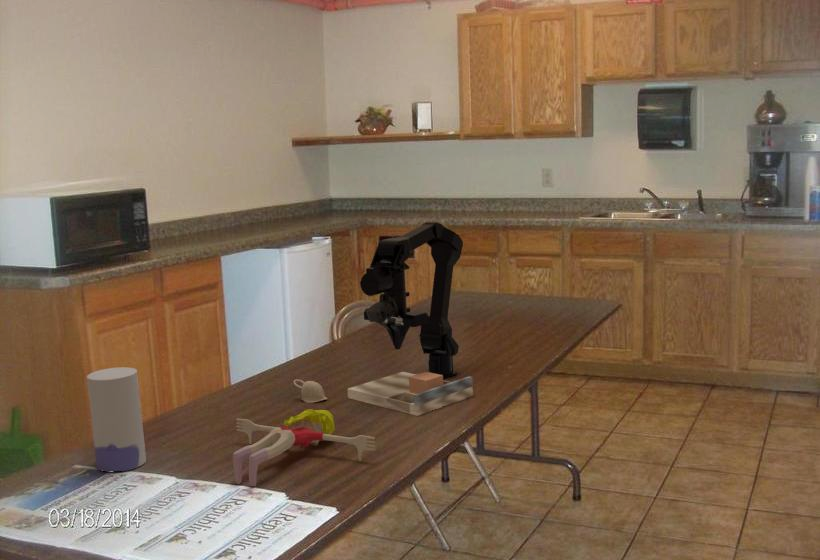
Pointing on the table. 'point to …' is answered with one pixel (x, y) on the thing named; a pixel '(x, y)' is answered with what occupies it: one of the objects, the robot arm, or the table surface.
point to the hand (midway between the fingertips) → (397, 349)
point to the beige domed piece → (311, 391)
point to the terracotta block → (424, 382)
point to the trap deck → (410, 394)
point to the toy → (290, 440)
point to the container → (116, 419)
